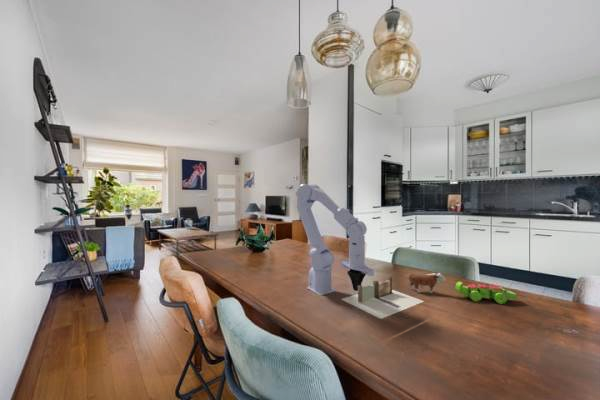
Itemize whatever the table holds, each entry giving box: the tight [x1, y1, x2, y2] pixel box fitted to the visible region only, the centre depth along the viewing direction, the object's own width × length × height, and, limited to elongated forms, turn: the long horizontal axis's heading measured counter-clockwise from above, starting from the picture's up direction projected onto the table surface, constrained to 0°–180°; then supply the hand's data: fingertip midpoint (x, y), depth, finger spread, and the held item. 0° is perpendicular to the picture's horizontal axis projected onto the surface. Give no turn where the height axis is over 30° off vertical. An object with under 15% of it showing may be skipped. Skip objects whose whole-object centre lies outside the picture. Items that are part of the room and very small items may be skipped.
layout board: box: [341, 289, 425, 320], centre depth 92 cm, size 18×24×1 cm
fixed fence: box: [372, 276, 393, 298], centre depth 97 cm, size 10×2×6 cm, turn 123°
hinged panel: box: [357, 284, 374, 302], centre depth 92 cm, size 8×1×6 cm, turn 123°
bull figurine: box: [408, 272, 447, 294], centre depth 101 cm, size 4×13×8 cm, turn 78°
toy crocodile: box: [454, 281, 519, 305], centre depth 94 cm, size 20×7×6 cm, turn 76°
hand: (356, 290), depth 95 cm, fingers closed
